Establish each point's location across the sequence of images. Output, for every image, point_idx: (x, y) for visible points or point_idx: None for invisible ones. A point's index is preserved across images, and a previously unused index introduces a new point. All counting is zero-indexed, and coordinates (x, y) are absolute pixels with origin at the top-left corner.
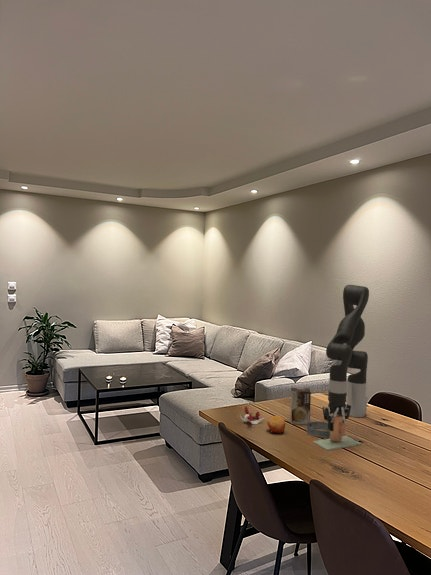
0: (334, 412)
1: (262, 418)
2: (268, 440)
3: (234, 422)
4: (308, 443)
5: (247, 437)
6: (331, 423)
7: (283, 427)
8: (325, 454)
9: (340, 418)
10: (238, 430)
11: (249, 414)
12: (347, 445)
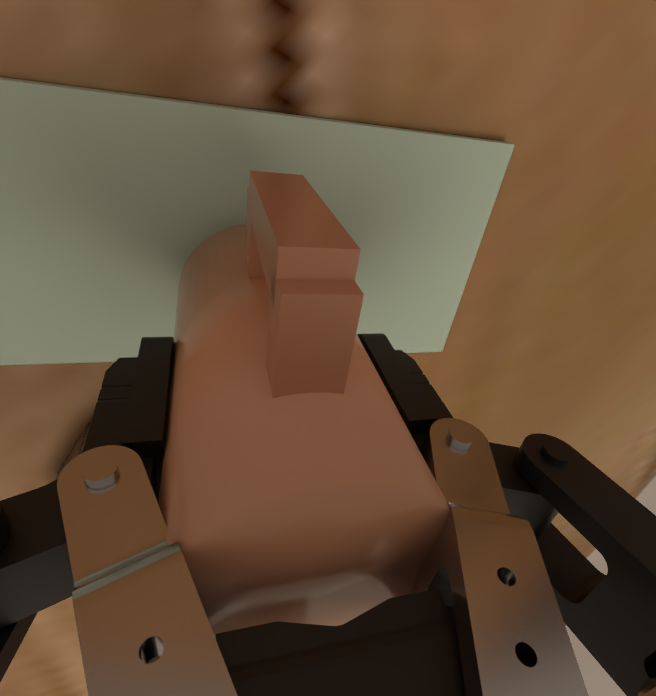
0: (565, 664)
1: None
2: (614, 439)
3: None
4: (481, 341)
5: (640, 483)
6: (429, 419)
7: None
8: (611, 59)
9: (334, 461)
10: (586, 543)
11: None
12: (199, 106)
